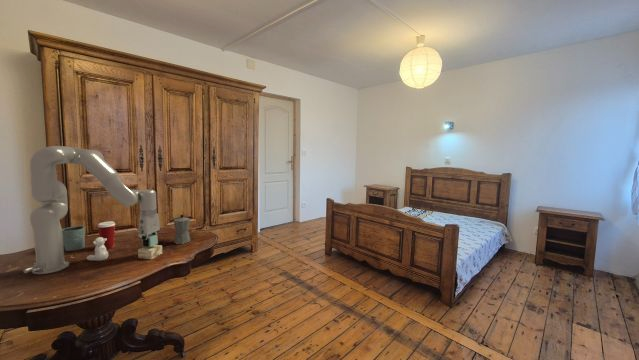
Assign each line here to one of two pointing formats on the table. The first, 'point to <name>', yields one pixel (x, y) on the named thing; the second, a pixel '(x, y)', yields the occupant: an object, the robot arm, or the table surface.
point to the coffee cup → (107, 233)
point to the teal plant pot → (74, 238)
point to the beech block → (150, 252)
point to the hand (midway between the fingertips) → (150, 244)
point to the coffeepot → (182, 230)
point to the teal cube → (152, 240)
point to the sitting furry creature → (99, 250)
